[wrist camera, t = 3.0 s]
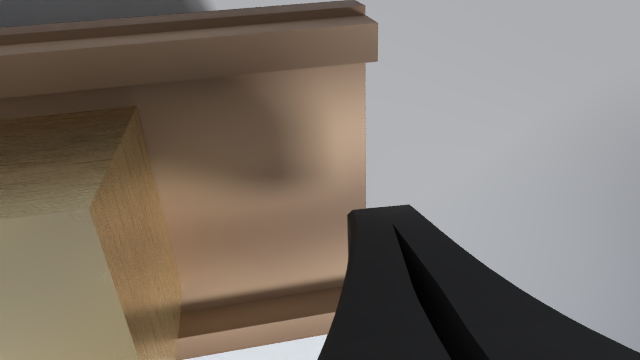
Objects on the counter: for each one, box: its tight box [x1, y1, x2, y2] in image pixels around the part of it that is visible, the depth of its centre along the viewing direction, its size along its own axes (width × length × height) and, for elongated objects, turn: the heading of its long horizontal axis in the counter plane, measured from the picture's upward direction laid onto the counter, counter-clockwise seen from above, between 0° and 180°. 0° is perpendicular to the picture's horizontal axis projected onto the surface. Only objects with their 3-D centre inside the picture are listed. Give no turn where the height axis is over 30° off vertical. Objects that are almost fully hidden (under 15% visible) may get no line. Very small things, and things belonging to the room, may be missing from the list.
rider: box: [0, 106, 183, 360], centre depth 10 cm, size 6×6×4 cm
